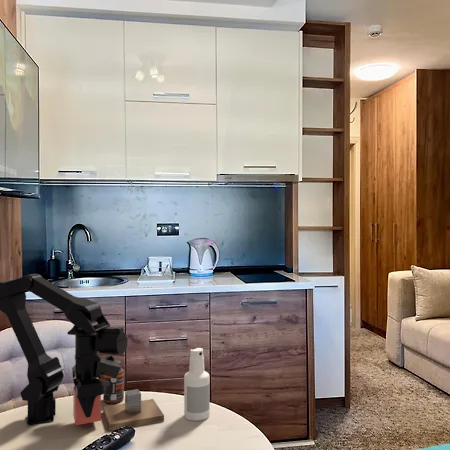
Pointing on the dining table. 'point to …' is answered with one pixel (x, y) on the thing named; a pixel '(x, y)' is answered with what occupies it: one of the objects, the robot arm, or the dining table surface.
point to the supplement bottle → (114, 387)
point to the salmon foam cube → (79, 413)
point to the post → (133, 401)
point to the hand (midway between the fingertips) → (86, 412)
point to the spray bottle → (196, 388)
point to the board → (132, 415)
